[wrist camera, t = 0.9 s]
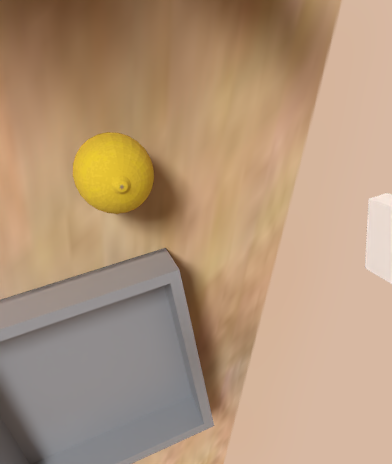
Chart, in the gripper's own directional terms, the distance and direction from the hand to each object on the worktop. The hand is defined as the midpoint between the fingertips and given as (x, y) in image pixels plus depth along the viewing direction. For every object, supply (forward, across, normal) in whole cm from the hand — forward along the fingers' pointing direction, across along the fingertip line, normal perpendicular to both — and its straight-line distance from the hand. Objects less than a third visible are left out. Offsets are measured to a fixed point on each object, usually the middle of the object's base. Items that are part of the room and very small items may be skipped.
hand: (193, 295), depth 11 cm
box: (+21, -7, -19) cm, 29 cm away
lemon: (+21, 0, 0) cm, 21 cm away
